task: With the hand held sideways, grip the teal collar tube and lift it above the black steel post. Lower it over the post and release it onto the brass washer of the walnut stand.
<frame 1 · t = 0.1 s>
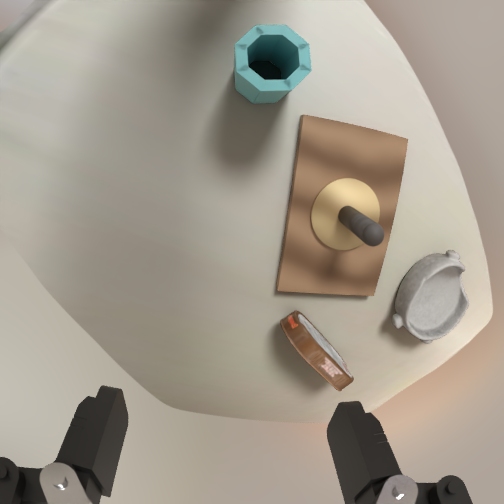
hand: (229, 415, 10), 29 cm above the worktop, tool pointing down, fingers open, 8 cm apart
dish: (424, 291, 44), on the worktop
post stand: (341, 211, 38), on the worktop
collar: (262, 77, 31), on the worktop
tin: (313, 334, 45), on the worktop
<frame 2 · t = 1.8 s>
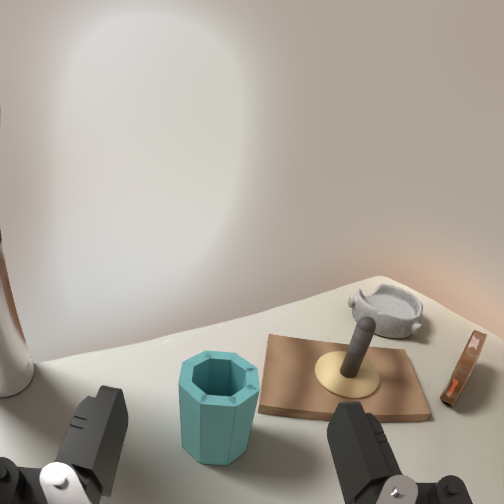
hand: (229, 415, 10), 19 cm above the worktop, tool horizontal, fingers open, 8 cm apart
dish: (384, 322, 54), on the worktop
post stand: (343, 382, 37), on the worktop
collar: (214, 439, 27), on the worktop
tin: (452, 386, 36), on the worktop
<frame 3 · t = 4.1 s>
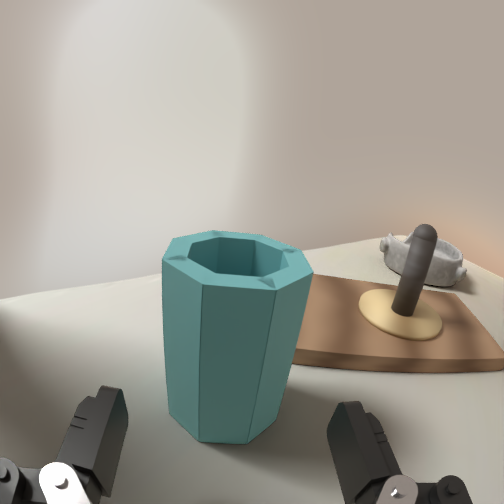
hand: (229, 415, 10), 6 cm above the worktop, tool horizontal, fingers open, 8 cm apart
dish: (421, 273, 44), on the worktop
post stand: (395, 327, 28), on the worktop
collar: (223, 402, 17), on the worktop
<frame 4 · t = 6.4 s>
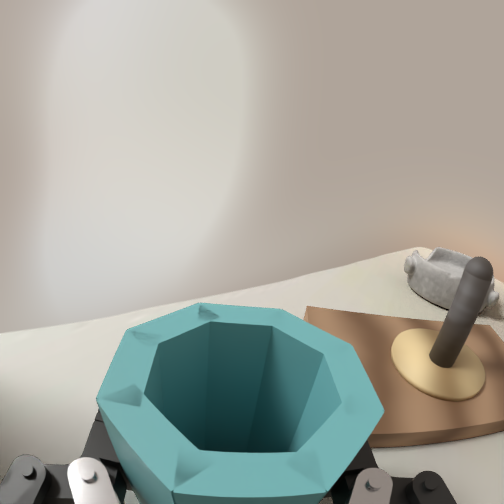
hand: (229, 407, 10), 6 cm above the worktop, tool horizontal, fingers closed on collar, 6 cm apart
dish: (447, 295, 37), on the worktop
post stand: (431, 377, 21), on the worktop
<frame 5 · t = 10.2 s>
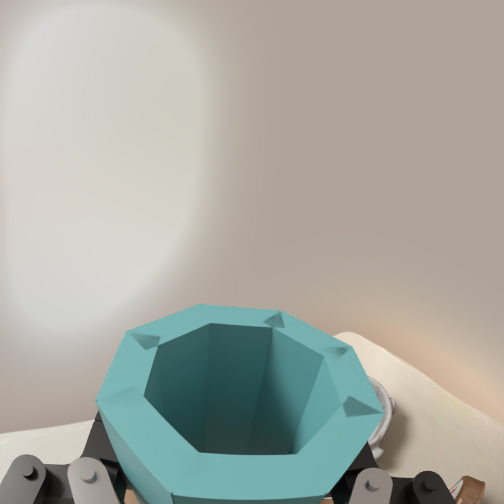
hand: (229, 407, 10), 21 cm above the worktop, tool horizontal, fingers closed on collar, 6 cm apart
dish: (330, 429, 32), on the worktop
when the fingers open (9 cm above the worktop, at t = 14.0 s): collar stays where it is, resting on post stand.
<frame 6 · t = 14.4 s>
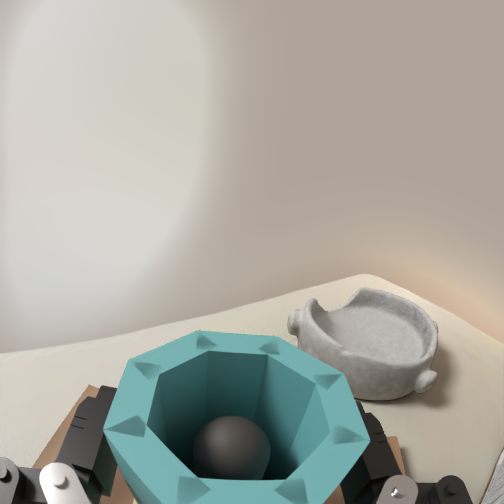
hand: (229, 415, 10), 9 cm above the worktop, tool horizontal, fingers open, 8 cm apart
dish: (364, 361, 28), on the worktop
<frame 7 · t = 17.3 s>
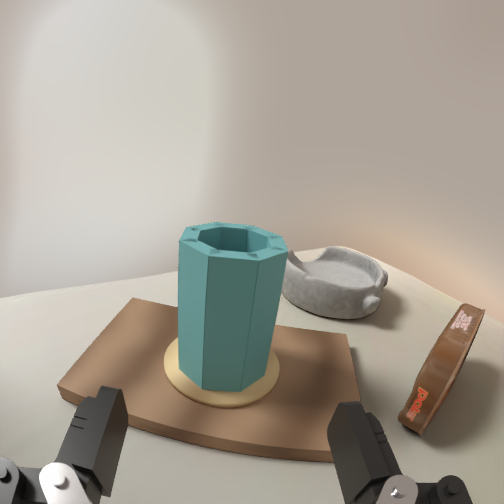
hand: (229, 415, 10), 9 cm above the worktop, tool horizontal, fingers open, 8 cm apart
dish: (330, 298, 40), on the worktop
post stand: (220, 378, 23), on the worktop
collar: (222, 361, 23), point 2 cm above the worktop, touching post stand
tin: (427, 398, 22), on the worktop
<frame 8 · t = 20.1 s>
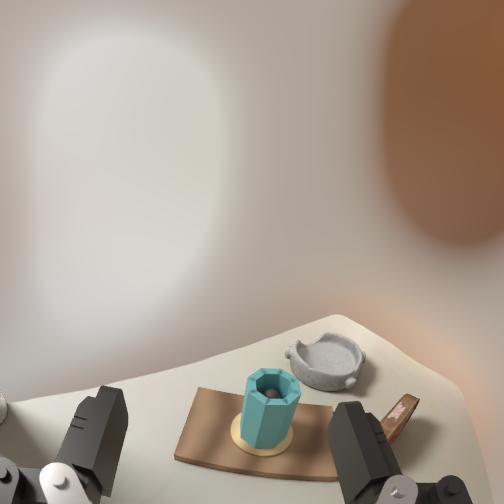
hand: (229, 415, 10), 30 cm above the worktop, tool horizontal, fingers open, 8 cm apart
dish: (324, 371, 55), on the worktop
post stand: (260, 437, 39), on the worktop
collar: (262, 431, 38), point 2 cm above the worktop, touching post stand
tin: (378, 445, 38), on the worktop
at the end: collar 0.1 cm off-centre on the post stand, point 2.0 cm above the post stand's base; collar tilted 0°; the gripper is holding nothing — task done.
